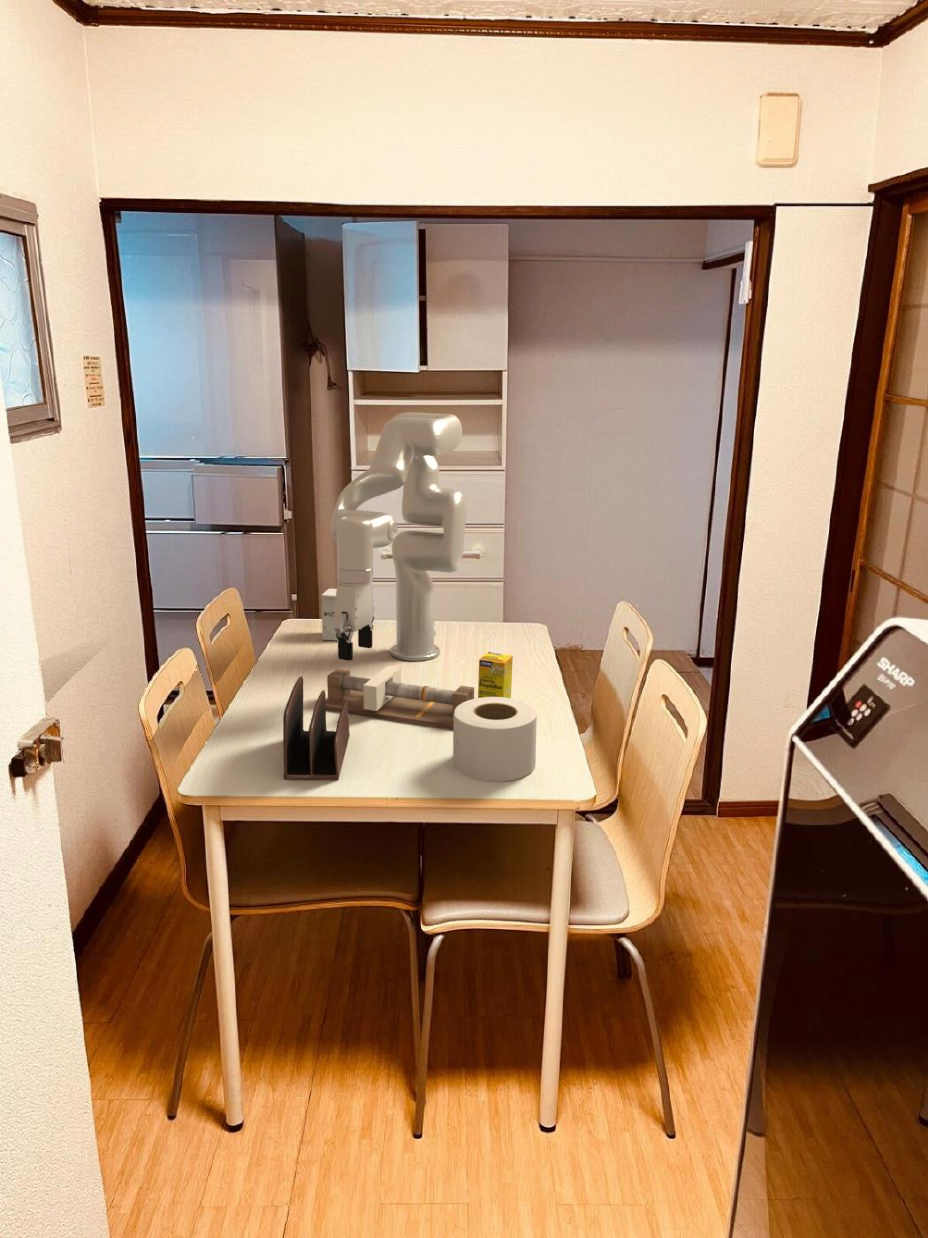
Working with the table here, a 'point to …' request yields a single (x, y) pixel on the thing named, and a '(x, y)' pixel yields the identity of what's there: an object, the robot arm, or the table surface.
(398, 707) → the pipe stand
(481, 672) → the supplement box
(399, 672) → the collar
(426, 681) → the table surface
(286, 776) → the letter holder
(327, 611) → the supplement box
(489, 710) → the white paper roll
